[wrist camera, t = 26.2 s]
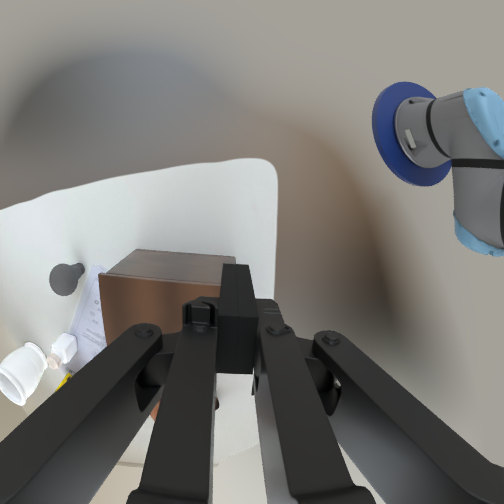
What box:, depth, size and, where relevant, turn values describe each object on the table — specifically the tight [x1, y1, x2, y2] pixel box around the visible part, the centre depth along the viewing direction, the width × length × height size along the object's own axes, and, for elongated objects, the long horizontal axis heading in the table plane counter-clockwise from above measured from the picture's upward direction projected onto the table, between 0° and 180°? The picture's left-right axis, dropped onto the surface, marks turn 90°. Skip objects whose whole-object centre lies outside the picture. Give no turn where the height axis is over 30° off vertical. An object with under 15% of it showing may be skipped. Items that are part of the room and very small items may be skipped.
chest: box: [107, 249, 236, 284], centre depth 42 cm, size 18×13×14 cm
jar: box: [0, 342, 48, 405], centre depth 42 cm, size 11×10×15 cm
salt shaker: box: [46, 333, 78, 370], centre depth 45 cm, size 4×4×10 cm
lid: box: [98, 273, 221, 346], centre depth 35 cm, size 19×13×1 cm
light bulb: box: [49, 263, 85, 296], centre depth 41 cm, size 6×6×10 cm
